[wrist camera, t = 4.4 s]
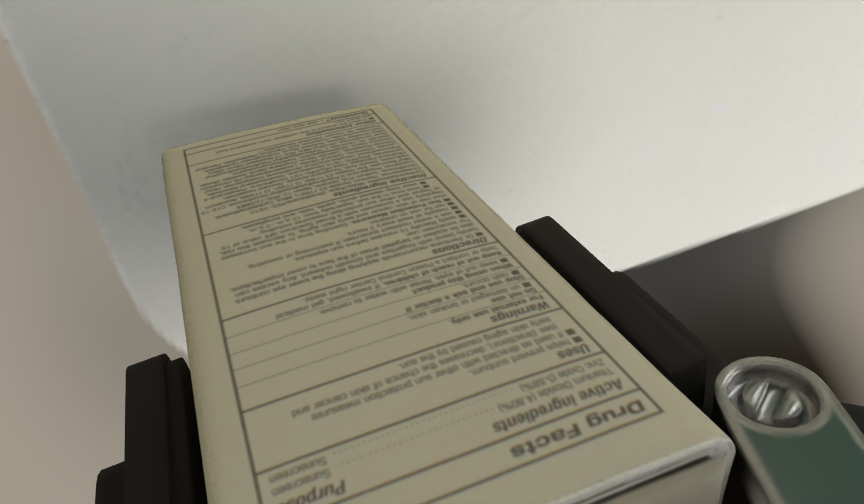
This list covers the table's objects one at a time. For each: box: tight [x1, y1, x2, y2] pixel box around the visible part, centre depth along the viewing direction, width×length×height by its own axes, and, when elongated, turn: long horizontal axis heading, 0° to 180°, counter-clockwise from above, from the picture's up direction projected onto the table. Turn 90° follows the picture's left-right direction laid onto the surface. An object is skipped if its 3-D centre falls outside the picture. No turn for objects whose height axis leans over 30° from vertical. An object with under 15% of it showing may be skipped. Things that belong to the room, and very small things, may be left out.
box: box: [162, 104, 736, 504], centre depth 11 cm, size 5×4×11 cm
